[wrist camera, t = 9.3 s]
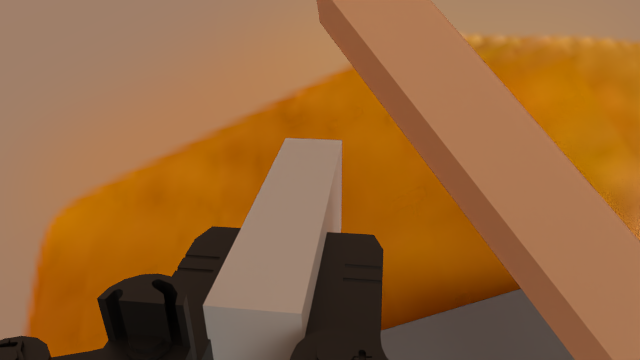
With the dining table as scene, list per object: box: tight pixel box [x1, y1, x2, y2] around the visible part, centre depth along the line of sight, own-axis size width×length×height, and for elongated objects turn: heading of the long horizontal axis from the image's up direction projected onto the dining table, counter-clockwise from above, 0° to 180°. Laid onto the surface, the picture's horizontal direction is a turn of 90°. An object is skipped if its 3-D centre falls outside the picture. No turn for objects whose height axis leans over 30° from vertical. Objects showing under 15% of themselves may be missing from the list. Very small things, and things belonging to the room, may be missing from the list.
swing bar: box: [317, 0, 640, 360], centre depth 18 cm, size 23×4×3 cm, turn 32°
